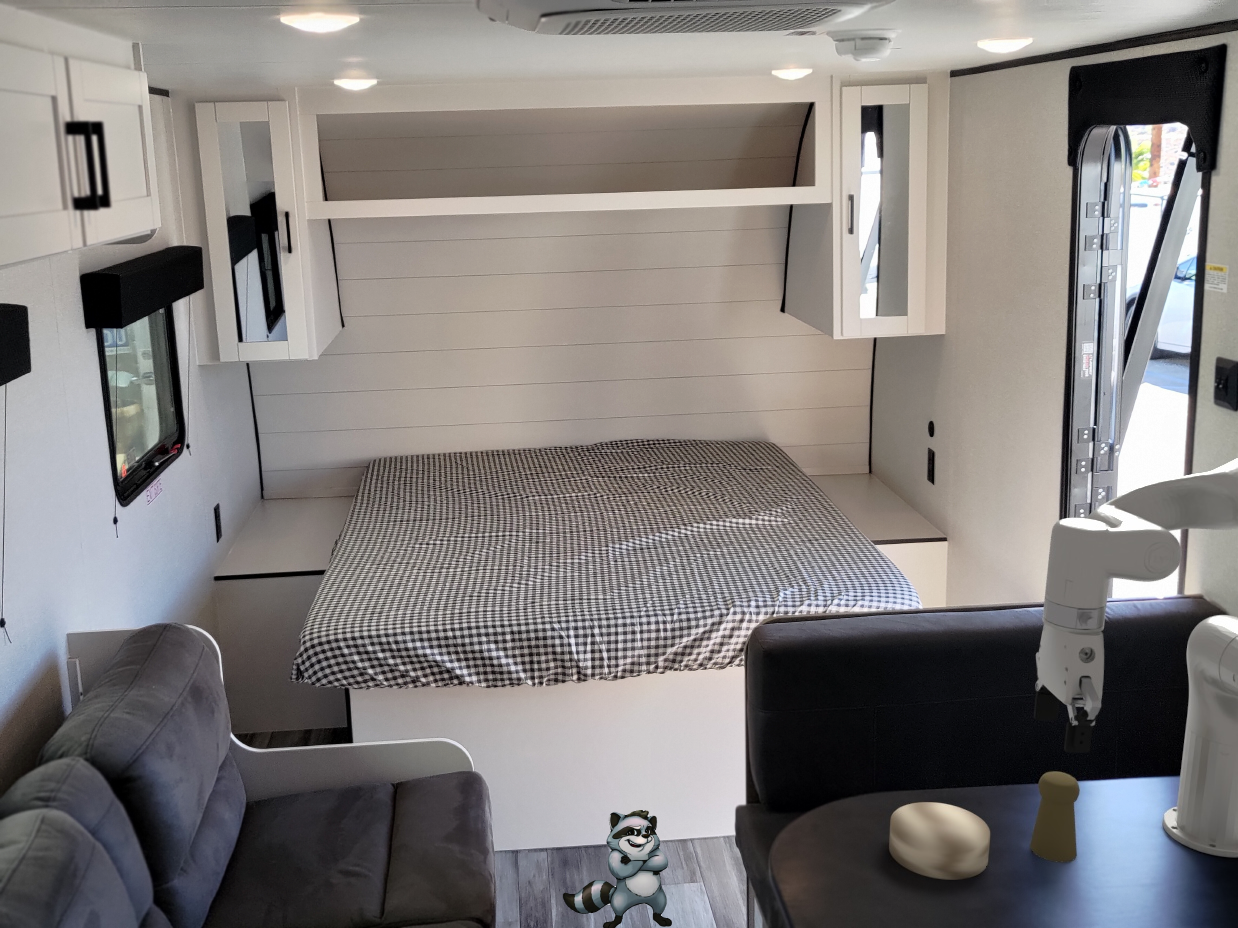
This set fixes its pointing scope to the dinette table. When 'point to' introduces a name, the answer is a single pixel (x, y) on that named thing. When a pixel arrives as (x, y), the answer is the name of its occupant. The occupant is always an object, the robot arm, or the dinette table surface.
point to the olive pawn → (1056, 818)
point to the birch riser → (939, 840)
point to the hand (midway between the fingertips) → (1060, 735)
